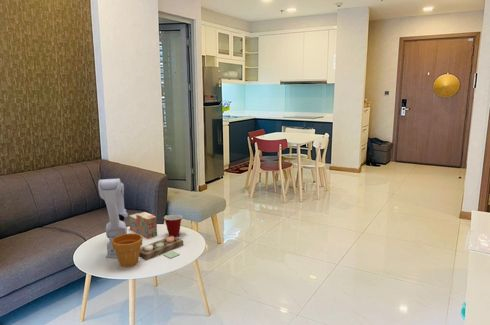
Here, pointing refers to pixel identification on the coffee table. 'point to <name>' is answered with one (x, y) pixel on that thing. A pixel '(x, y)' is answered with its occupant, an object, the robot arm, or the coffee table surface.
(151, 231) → the stack of blocks
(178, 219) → the plastic cup
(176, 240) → the wooden compartment tray
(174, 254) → the colour card
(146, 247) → the cream button
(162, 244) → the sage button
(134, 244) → the flower pot
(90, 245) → the coffee table surface
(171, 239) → the terracotta button
